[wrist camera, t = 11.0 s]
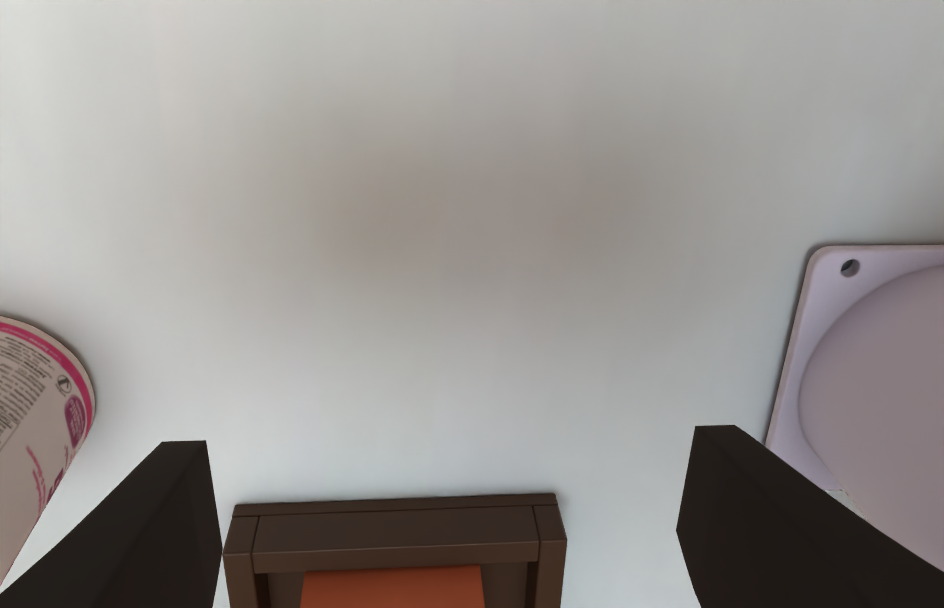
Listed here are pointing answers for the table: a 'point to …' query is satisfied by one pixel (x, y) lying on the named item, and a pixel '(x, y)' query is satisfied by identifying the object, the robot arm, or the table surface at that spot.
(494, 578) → the dark brown tray
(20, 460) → the pill bottle
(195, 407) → the table surface
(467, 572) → the pad
